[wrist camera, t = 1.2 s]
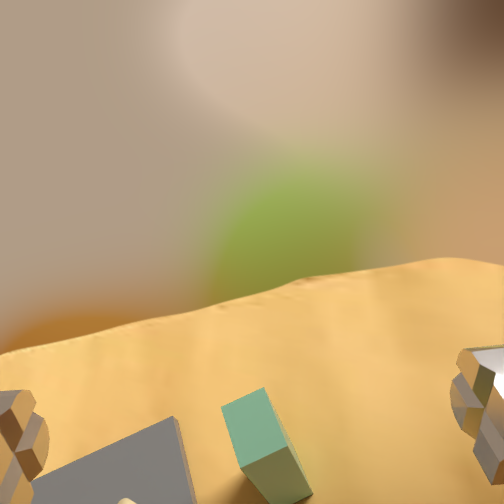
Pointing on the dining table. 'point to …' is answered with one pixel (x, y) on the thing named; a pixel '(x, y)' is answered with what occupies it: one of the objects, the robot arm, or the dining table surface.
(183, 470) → the pin base
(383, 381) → the dining table surface
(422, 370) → the dining table surface
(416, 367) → the dining table surface
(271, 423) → the board block
